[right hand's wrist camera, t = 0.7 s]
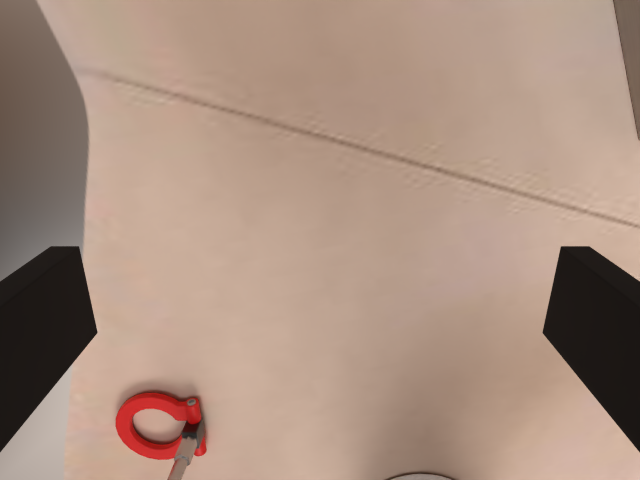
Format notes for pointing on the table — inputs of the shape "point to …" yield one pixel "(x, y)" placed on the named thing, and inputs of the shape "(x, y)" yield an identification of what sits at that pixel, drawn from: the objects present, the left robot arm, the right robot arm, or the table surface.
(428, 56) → the table surface
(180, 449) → the tow hook
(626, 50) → the bar
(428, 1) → the table surface
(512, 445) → the table surface
